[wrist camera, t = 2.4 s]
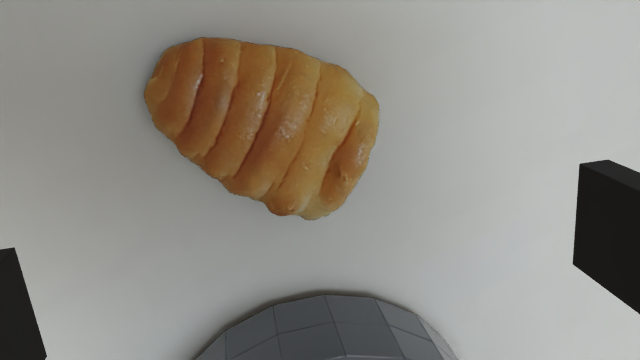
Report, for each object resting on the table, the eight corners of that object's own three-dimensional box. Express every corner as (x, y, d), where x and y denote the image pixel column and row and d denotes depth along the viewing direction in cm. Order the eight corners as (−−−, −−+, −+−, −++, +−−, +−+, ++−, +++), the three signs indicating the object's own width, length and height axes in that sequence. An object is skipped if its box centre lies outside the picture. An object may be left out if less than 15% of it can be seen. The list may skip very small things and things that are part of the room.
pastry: (125, 140, 24) (110, 166, 20) (185, -9, 22) (180, -10, 19) (320, 217, 26) (336, 251, 23) (384, 88, 25) (412, 103, 21)
